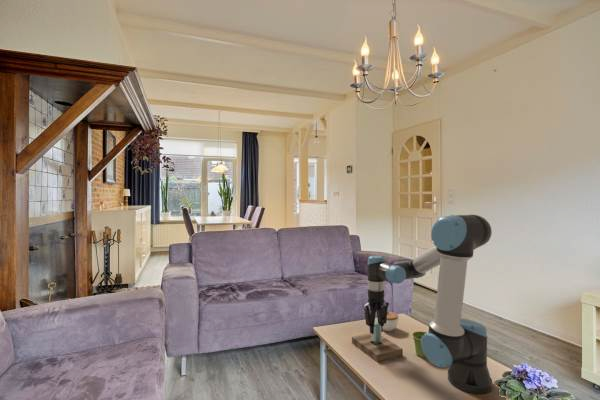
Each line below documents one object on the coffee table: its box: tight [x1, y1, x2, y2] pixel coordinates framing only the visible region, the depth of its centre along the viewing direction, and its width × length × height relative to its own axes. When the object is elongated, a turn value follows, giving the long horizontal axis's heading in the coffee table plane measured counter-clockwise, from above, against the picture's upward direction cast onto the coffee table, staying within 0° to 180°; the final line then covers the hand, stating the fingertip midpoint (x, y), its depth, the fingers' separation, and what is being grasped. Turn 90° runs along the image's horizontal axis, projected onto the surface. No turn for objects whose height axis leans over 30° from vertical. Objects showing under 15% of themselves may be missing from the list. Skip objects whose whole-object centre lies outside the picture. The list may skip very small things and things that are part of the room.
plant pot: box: [411, 330, 428, 359], centre depth 147 cm, size 9×9×9 cm
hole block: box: [351, 332, 404, 363], centre depth 152 cm, size 20×14×3 cm
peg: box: [373, 322, 380, 345], centre depth 152 cm, size 3×3×10 cm
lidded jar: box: [382, 310, 399, 332], centre depth 176 cm, size 11×11×9 cm
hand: (376, 339), depth 152 cm, fingers closed on peg, 2 cm apart
